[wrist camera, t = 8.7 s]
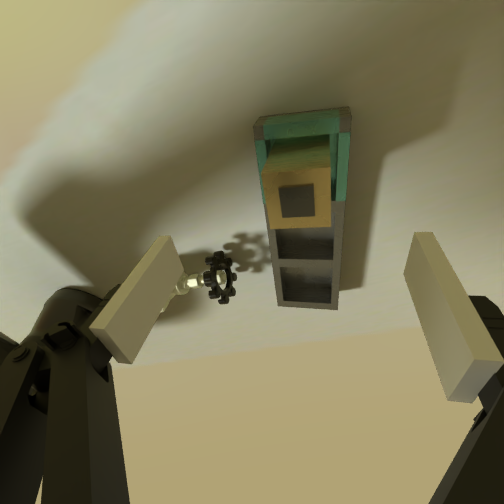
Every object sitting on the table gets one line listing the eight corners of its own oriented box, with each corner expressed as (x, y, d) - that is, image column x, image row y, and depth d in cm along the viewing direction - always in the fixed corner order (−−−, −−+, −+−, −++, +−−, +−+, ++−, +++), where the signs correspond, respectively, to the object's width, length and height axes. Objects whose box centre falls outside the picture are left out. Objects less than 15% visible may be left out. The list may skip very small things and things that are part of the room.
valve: (173, 287, 42) (241, 276, 38) (153, 322, 37) (228, 315, 33) (148, 255, 39) (220, 239, 34) (123, 289, 34) (203, 276, 29)
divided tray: (280, 289, 37) (277, 306, 35) (259, 116, 24) (252, 127, 22) (336, 292, 35) (337, 310, 33) (349, 106, 22) (351, 116, 20)
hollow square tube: (281, 186, 27) (269, 230, 21) (275, 138, 24) (260, 174, 18) (329, 182, 26) (331, 228, 20) (329, 132, 23) (330, 168, 17)
